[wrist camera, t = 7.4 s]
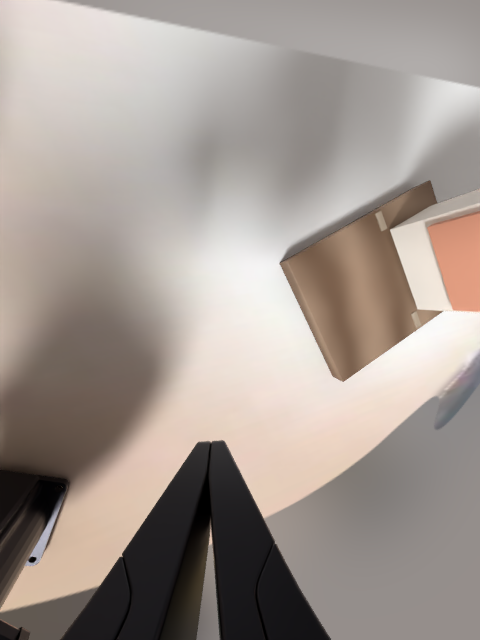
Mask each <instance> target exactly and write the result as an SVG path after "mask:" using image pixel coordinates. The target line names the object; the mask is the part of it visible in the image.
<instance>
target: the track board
mask: <svg viewBox="0 0 480 640" xmlns="http://www.w3.org/2000/svg"><path fill="white" fill-rule="evenodd" d="M434 204H437V201H436V198H435V195H434V191H433V188H432V184H431V181H427V182H425V183H423V184H421V185H419V186H416V187H414V188H412V189H411V190H409V191H407V192H405V193H403V194H402V195H400V196H398V197H396V198H395V199H393V200H391V201H389V202H387V203H386V204H384V205H382V206H380V207H379V208H377V209H375V210H373V211H371V212H370V213H368V214H366V215H364V216H363V217H361V218H359V219H357V220H355V221H354V222H352V223H350V224H348V225H347V226H345V227H343V228H341V229H339V230H338V231H336V232H334V233H332V234H331V235H329V236H327V237H325V238H323V239H322V240H320V241H318V242H316V243H315V244H313V245H311V246H309V247H307V248H306V249H304V250H302V251H300V252H299V253H297V254H295V255H293V256H291V257H290V258H288V259H286V260H284V261H283V262H281V263H280V265H281V267H282V269H283V271H284V274H285V276H286V278H287V280H288V282H289V284H290V286H291V288H292V291H293V293H294V295H295V297H296V299H297V301H298V303H299V305H300V308H301V310H302V312H303V314H304V316H305V318H306V320H307V322H308V325H309V327H310V329H311V331H312V333H313V335H314V337H315V339H316V342H317V344H318V346H319V348H320V350H321V352H322V354H323V356H324V359H325V361H326V363H327V365H328V367H329V369H330V371H331V373H332V376H333V377H335V378H337V379H339V380H341V381H343V382H344V381H345V380H347V379H348V378H349V377H351V376H352V375H354V374H355V373H356V372H358V371H359V370H361V369H362V368H364V367H365V366H366V365H368V364H369V363H371V362H372V361H373V360H375V359H376V358H378V357H379V356H381V355H382V354H383V353H385V352H386V351H388V350H389V349H390V348H392V347H393V346H395V345H396V344H398V343H399V342H400V341H402V340H403V339H405V338H406V337H407V336H409V335H410V334H412V333H413V332H415V331H416V330H417V329H419V328H420V327H422V326H423V325H424V324H426V323H427V322H429V321H430V320H432V319H433V318H434V317H436V316H437V315H439V314H440V313H441V312H443V311H435V310H420V309H417V306H416V303H415V300H414V298H413V295H412V292H411V289H410V286H409V283H408V280H407V277H406V275H405V272H404V269H403V266H402V263H401V260H400V257H399V255H398V252H397V249H396V246H395V243H394V240H393V237H392V234H391V232H390V229H392V228H394V227H395V226H397V225H399V224H401V223H402V222H404V221H406V220H407V219H409V218H411V217H412V216H414V215H416V214H417V213H419V212H421V211H423V210H424V209H426V208H428V207H429V206H431V205H434Z"/></svg>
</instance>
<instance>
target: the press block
mask: <svg viewBox="0 0 480 640" xmlns="http://www.w3.org/2000/svg"><path fill="white" fill-rule="evenodd" d="M390 232H391V234H392V237H393V240H394V243H395V246H396V249H397V252H398V255H399V257H400V260H401V263H402V266H403V269H404V272H405V275H406V277H407V280H408V283H409V286H410V289H411V292H412V295H413V298H414V300H415V303H416V306H417V309H420V310H435V311H451V312H467V313H480V189H477V190H474V191H472V192H469V193H466V194H463V195H460V196H457V197H454V198H451V199H449V200H446V201H443V202H440V203H437V204H434V205H431V206H429V207H428V208H426V209H424V210H423V211H421V212H419V213H417V214H416V215H414V216H412V217H411V218H409V219H407V220H406V221H404V222H402V223H401V224H399V225H397V226H395V227H394V228H392V229H390Z"/></svg>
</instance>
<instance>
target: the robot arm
mask: <svg viewBox="0 0 480 640" xmlns="http://www.w3.org/2000/svg"><path fill="white" fill-rule="evenodd" d="M58 486H62V487H63V488H58ZM68 486H69V482H68V480H66V479H63V478H56V477H49V476H42V475H34V474H27V473H20V472H13V471H5V470H0V609H1V607H2V605H3V604H4V602H5V600H6V598H7V597H8V595H9V593H10V591H11V589H12V588H13V586H14V584H15V582H16V580H17V579H18V577H19V575H20V573H21V571H22V570H23V568H24V566H34V565H36V564H38V563H39V561H40V560H41V558H42V556H43V554H44V551H45V548H46V546H47V543H48V540H49V538H50V535H51V532H52V529H53V527H54V524H55V521H56V519H57V516H58V513H59V511H60V508H61V505H62V503H63V500H64V497H65V494H66V492H67V489H68ZM210 528H211V530H212V544H213V557H214V570H215V584H216V598H217V611H218V624H219V638H220V640H331V638H330V637H329V635H328V634H327V632H326V631H325V629H324V627H323V626H322V624H321V623H320V621H319V619H318V618H317V616H316V615H315V613H314V611H313V610H312V608H311V606H310V605H309V603H308V601H307V600H306V598H305V596H304V595H303V593H302V591H301V590H300V588H299V586H298V584H297V582H296V581H295V579H294V577H293V575H292V573H291V571H290V569H289V567H288V566H287V564H286V562H285V560H284V558H283V556H282V554H281V552H280V550H279V548H278V546H277V544H275V541H274V538H273V536H272V534H271V532H270V530H269V528H268V527H267V525H266V523H265V520H264V518H263V516H262V514H261V512H260V510H259V508H258V506H257V504H256V502H255V501H254V499H253V497H252V495H251V493H250V491H249V489H248V487H247V485H246V483H245V481H244V479H243V477H242V475H241V473H240V471H239V469H238V467H237V465H236V463H235V461H234V459H233V457H232V455H231V453H230V451H229V449H228V447H227V445H226V443H225V441H223V440H221V441H212V443H211V442H210V441H204V442H198V443H197V444H196V446H195V447H194V449H193V450H192V452H191V453H190V454H189V456H188V457H187V459H186V460H185V462H184V463H183V465H182V466H181V468H180V469H179V471H178V472H177V474H176V475H175V477H174V478H173V480H172V481H171V482H170V484H169V485H168V487H167V488H166V490H165V491H164V493H163V494H162V496H161V497H160V499H159V500H158V502H157V503H156V505H155V506H154V507H153V509H152V510H151V512H150V513H149V515H148V516H147V518H146V519H145V521H144V522H143V524H142V525H141V527H140V528H139V530H138V531H137V533H136V534H135V535H134V537H133V538H132V540H131V541H130V543H129V544H128V546H127V547H126V549H125V550H124V552H123V553H122V556H123V557H119V559H118V560H117V562H116V563H115V565H114V566H113V568H112V569H111V571H110V572H109V574H108V575H107V576H106V578H105V579H104V581H103V582H102V584H101V585H100V586H99V588H98V589H97V591H96V592H95V593H94V595H93V596H92V598H91V599H90V600H89V602H88V603H87V605H86V606H85V608H84V609H83V610H82V611H81V613H80V614H79V615H78V617H77V618H76V620H75V621H74V622H73V623H72V625H71V626H70V627H69V628H68V630H67V631H66V632H65V634H64V635H63V636H62V638H61V639H60V640H196V639H197V631H198V624H199V616H200V608H201V600H202V592H203V584H204V577H205V569H206V561H207V553H208V545H209V538H210ZM33 556H34V557H33ZM29 635H30V631H28V630H26V629H25V628H23V627H21V628H19V629H18V628H16V627H14V626H12V625H10V624H8V623H6V622H5V621H3V620H1V619H0V640H28V639H29Z"/></svg>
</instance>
